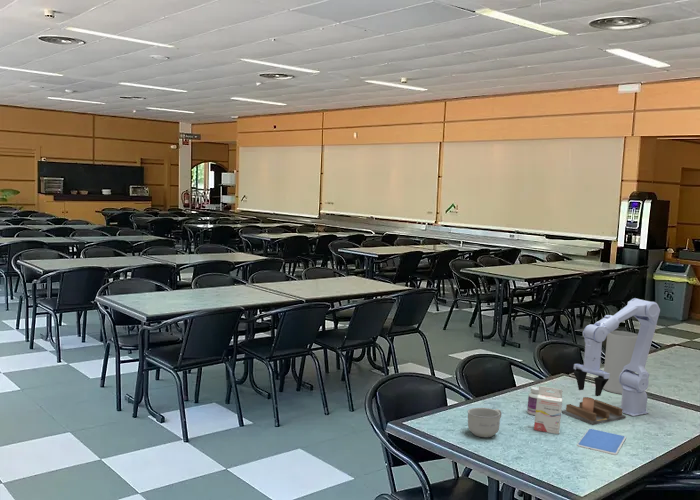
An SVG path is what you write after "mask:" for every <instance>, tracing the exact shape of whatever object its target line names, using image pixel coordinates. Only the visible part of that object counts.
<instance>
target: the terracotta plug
mask: <svg viewBox="0 0 700 500" xmlns="http://www.w3.org/2000/svg"><path fill="white" fill-rule="evenodd" d="M594 400H595V398H593V397H588V396H585V397H584V396H583V398H582V402H583V403H582V409H585V410H588V411H590V412H593V408H594Z"/></svg>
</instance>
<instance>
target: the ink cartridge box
mask: <svg viewBox="0 0 700 500" xmlns="http://www.w3.org/2000/svg"><path fill="white" fill-rule="evenodd" d="M538 388H539V392H538V396H537V403H536V413H535V415H534V424H533V425H534V427H533V430H534V431H538V432H543V433H544V432H545V433H550V434H555V435H559V434H560V428H561V427H560V426H561V421H562V420H561V419H562V411H563V410H562V408H563V389H561V388H554V387H548V386H542V385H539V387H538ZM549 391H550V392H549Z"/></svg>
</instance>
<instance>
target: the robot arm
mask: <svg viewBox="0 0 700 500" xmlns="http://www.w3.org/2000/svg"><path fill="white" fill-rule="evenodd" d="M626 304H627V305H625V306H624V307H622V308H621V309H620V310H619V311H616V313H615V314H613V315H611V314H606V315H604V317H602V318H601V319H600V320H598V321H595V323H594V324H592V323H591V324H588V325H586V326H585V327H584V329H583V331H582V336H583V338H584V355H583V356H584V357H583V364H580V363H574V364H573V370H574V371H573V374H574V377H575V379H576V384H577V388H578V389H577V390H578V391H584V389H585V383H586V377H587V375H588V374H590V375H594V383H595V386H594V387H595V390H594V391H595V392H594V396H595V397H601V395H602V392H603V390H604V389H603V387H604V386H605V384H606V383H607V381H608V380H609V375H610V373H607V372H605V371H604V369H601V360H602V357H601V356H602V350H603V349H602V346H603V342H604V341H605V340H607V335H608V334H609V333H610V332H612V331H616V330H617V329H618V328H619V327H620V326H619V325H620V323H622V322H624V321H626V320H628V319H630V318H632V317H633V318H635V319H637V320H638V322H639V324H640V325H639V329H638V333H637V335H638V336H637V340H636V343H635V347H634V350H633V354H632V358H631V361H630V363H629V364H627V365H626V366H624V367H623V370H622V372H621V373H620V375H619V383H620V384H621V387H622V388H623V390H622V394H621V401H620V402H621V404H620V408H622V409H623V410H622V414H626V415H629V416H632V417H635V416H642V415H645V414H646V415H647V414H649V411H647V407H648V405H647V404H648V394H647V392H646V390H647V389H648V387H649V384H650V383H649V377H650V373H649V372H648V370H647V369H646V368H645V367H646V364H647V361H648V357H649V353H650V349H651V345H652V342H653V339H654V335H655V331H656V328H657V324H658V319H659V316H660V312H661V308H660V307H659V304H658V303H657V302H656V301H650V300H644V299H640V298H636V297H634V298H631V299H630V300H629V301H627V303H626ZM633 372H635V373H633Z"/></svg>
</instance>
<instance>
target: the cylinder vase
mask: <svg viewBox="0 0 700 500" xmlns="http://www.w3.org/2000/svg"><path fill="white" fill-rule="evenodd" d="M637 336H638V333H634V332H629V331H625V330H614V331H612V332H610V333H609V334H608V335H607V336H606V345H605V353H604V354H605V356H604V357H605V358H604V368H603V371H605V372H607V373H610V375H609V380H608V381H607V383H606V384H605V386H604V387H603V390H604V391H606V392H609V393H613V394H616V395H617V394H619V395H622V390H623V388H622V387H621V384H620V383H619V375H620V373H621V372H622V370H623V367H624V366H626V365H627V364H629V363H630V361H631V358H632V354H633V350H634V347H635V343H636V340H637ZM633 373H636V372H633Z"/></svg>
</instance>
